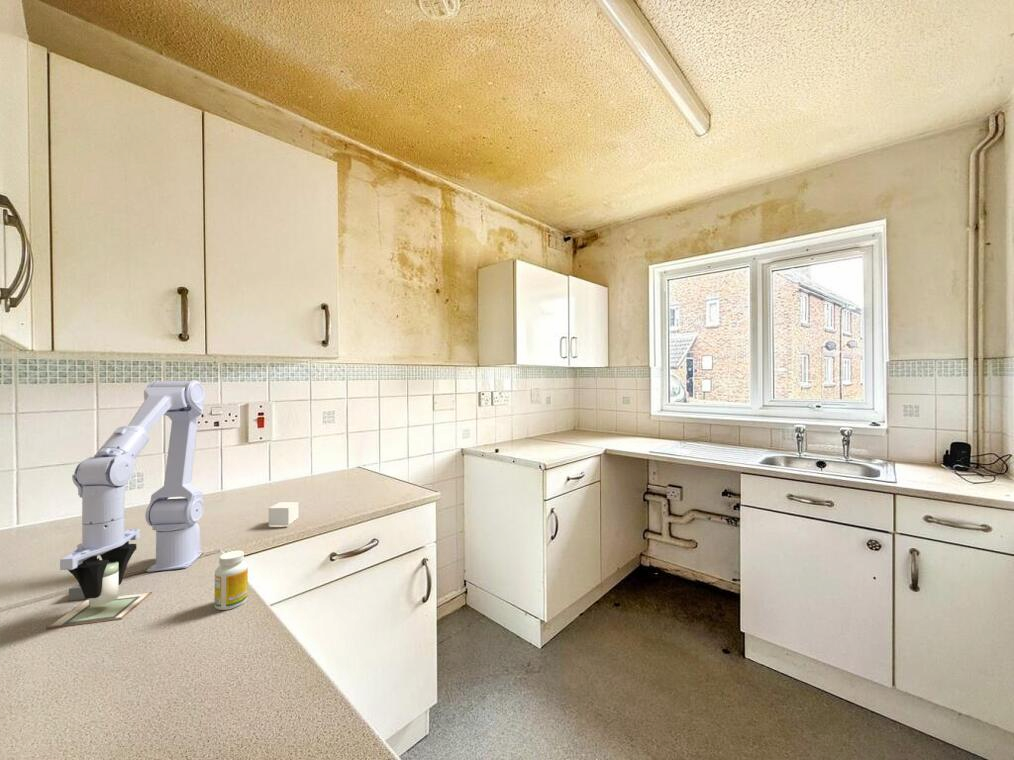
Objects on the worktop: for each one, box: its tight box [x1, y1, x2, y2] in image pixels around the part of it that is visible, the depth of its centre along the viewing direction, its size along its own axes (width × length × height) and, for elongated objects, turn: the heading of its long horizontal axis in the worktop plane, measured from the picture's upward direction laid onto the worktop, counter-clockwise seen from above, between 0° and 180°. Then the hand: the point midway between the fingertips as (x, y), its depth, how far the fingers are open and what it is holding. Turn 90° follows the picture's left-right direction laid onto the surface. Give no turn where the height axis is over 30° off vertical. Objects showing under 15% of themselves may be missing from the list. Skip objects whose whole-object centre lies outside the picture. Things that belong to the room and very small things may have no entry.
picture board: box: [45, 591, 153, 630], centre depth 78 cm, size 10×11×1 cm
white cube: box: [268, 501, 300, 526], centre depth 125 cm, size 6×6×6 cm
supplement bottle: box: [214, 550, 249, 611], centre depth 80 cm, size 5×5×10 cm
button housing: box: [68, 582, 89, 602], centre depth 84 cm, size 5×5×2 cm
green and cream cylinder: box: [88, 561, 120, 606], centre depth 77 cm, size 4×4×6 cm
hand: (103, 591), depth 77 cm, fingers closed on green and cream cylinder, 4 cm apart
